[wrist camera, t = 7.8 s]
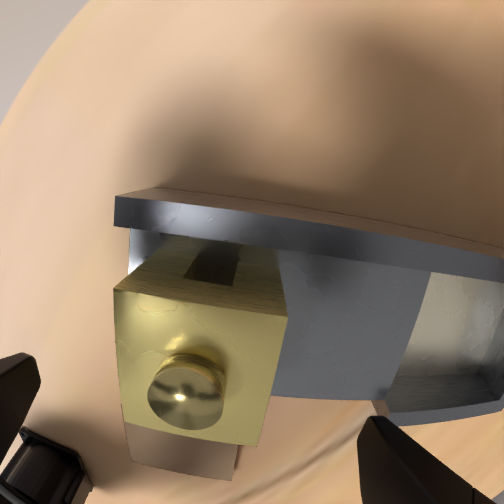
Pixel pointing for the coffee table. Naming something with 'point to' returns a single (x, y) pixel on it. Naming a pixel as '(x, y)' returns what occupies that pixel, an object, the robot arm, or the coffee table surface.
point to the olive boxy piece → (198, 348)
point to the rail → (350, 299)
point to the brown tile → (180, 452)
